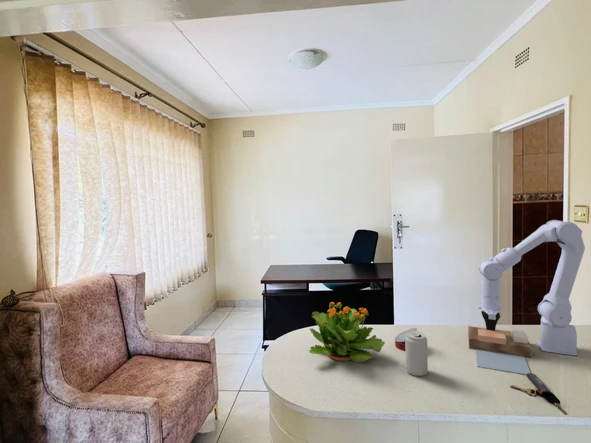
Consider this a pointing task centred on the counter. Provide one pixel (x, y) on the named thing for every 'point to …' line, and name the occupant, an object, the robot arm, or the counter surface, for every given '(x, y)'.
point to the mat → (502, 362)
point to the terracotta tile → (491, 336)
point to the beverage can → (416, 353)
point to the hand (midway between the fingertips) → (490, 332)
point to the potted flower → (344, 335)
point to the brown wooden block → (509, 348)
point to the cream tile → (519, 336)
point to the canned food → (402, 339)
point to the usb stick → (537, 382)
